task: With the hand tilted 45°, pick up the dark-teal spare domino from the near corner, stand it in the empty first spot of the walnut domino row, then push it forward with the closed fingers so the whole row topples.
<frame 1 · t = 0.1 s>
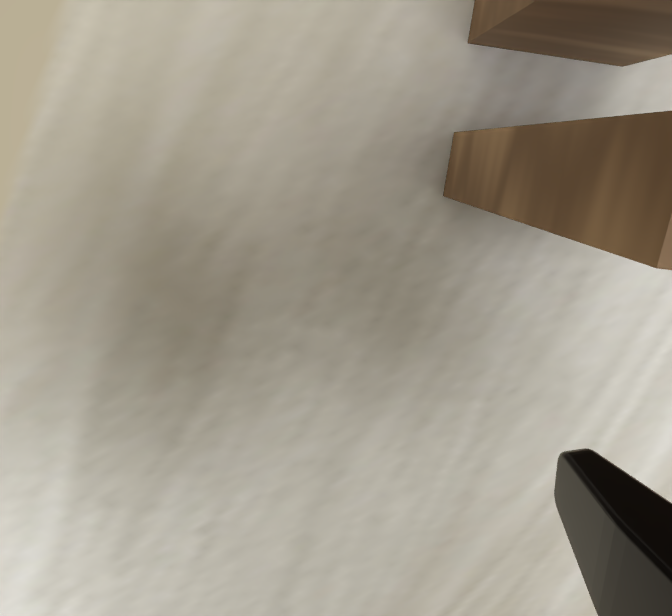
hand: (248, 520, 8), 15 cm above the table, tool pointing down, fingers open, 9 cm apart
walnut domino 2: (523, 174, 22), on the table
walnut domino 3: (553, 19, 21), on the table
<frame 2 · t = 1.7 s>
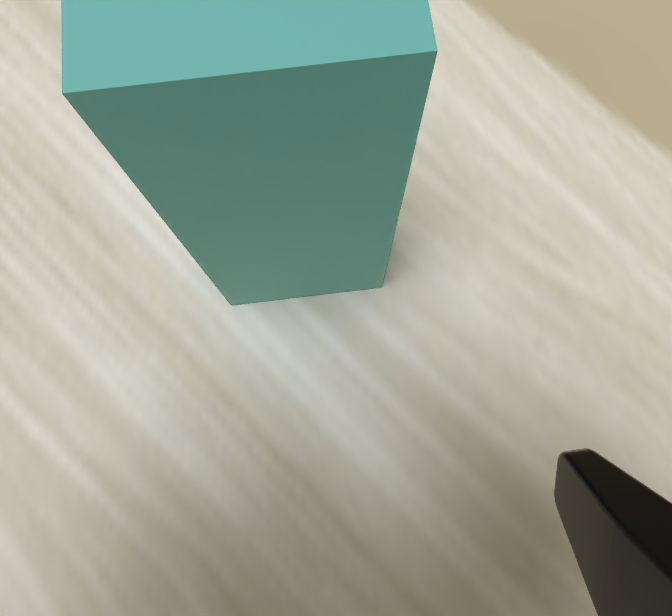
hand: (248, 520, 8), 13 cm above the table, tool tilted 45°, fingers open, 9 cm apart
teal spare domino: (303, 267, 23), on the table
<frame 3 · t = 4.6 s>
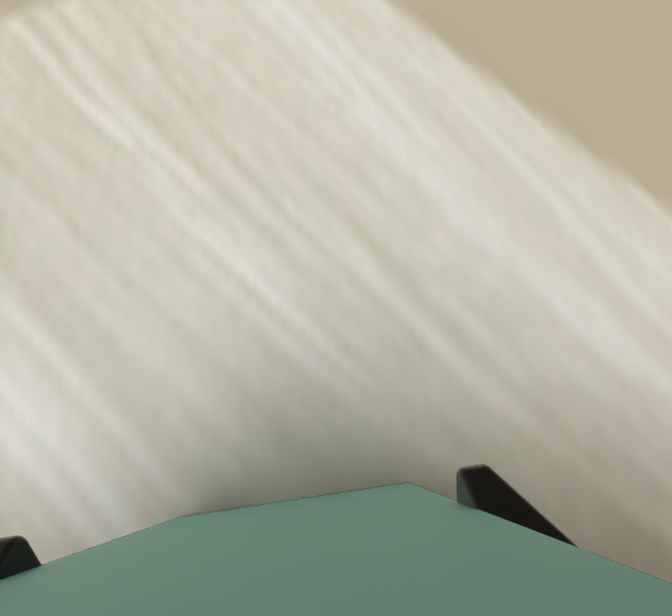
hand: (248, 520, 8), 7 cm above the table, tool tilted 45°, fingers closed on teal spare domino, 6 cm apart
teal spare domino: (300, 548, 15), on the table, touching gripper
when the fingers open (8 cm above the table, at t = 11.4 s): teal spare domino stays where it is, on the table.
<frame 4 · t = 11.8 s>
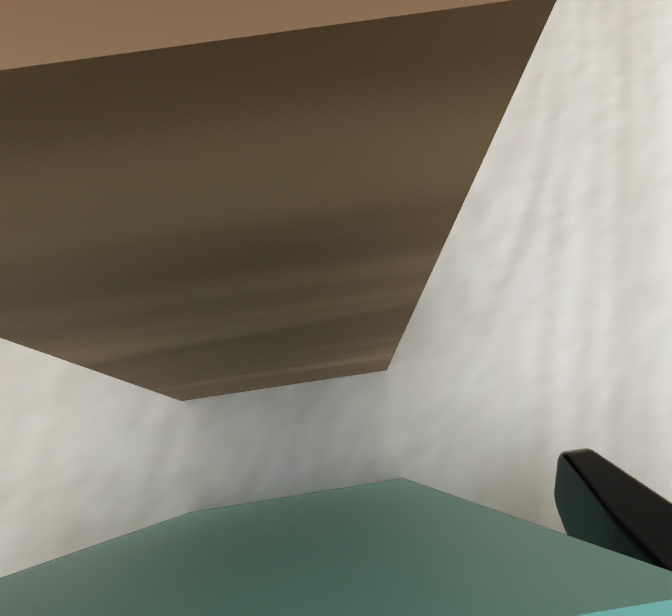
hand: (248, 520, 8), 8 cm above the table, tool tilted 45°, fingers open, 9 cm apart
walnut domino 2: (279, 345, 17), on the table
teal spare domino: (302, 541, 16), on the table
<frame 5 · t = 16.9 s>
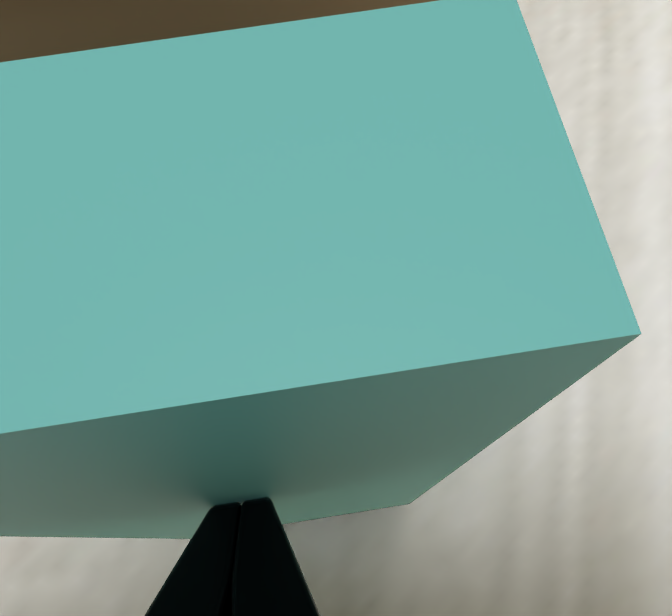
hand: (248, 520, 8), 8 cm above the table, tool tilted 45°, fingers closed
walnut domino 2: (275, 293, 18), on the table
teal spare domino: (295, 476, 16), on the table, tilted 7°
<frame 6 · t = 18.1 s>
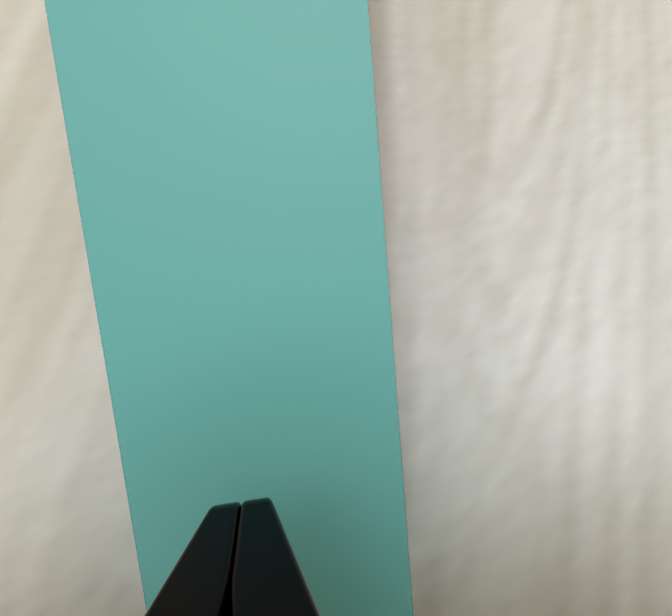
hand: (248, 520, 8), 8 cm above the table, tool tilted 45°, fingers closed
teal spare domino: (286, 592, 14), point 1 cm above the table, tilted 65°, touching walnut domino 2
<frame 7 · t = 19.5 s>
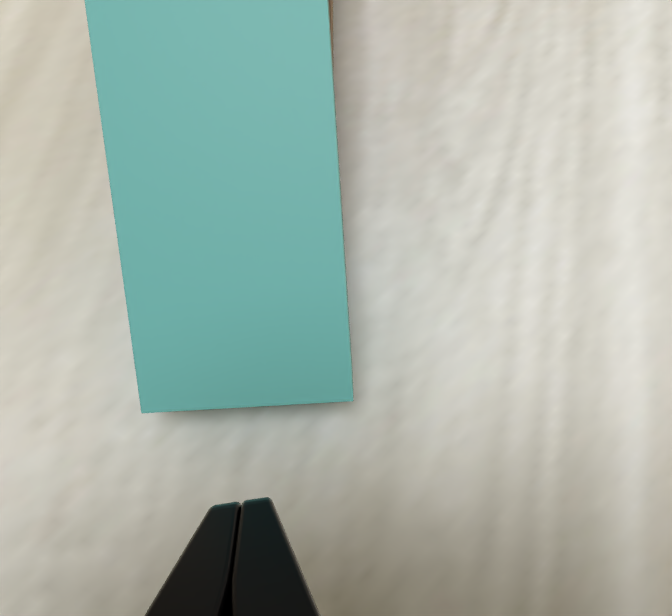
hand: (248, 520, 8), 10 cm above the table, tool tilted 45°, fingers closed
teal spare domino: (253, 392, 17), point 1 cm above the table, tilted 66°, touching walnut domino 2
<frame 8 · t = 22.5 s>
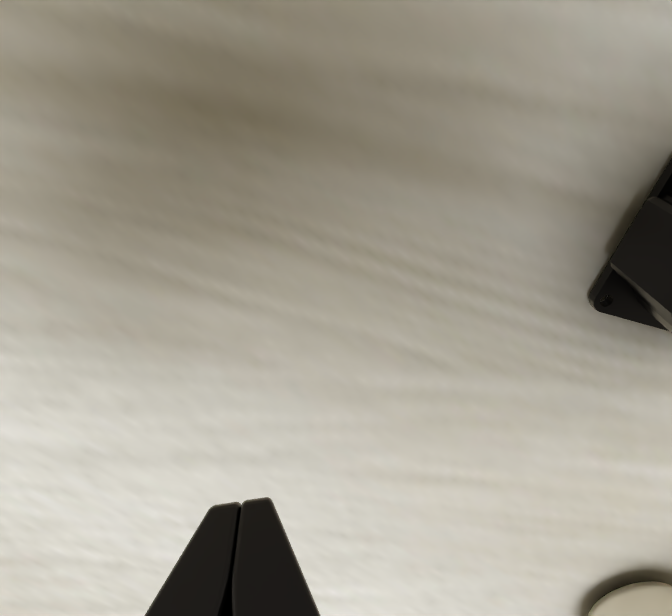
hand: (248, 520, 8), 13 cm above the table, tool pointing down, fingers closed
plastic bottle: (627, 597, 33), on the table
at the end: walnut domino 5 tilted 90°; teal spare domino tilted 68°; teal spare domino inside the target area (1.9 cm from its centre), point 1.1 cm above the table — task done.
